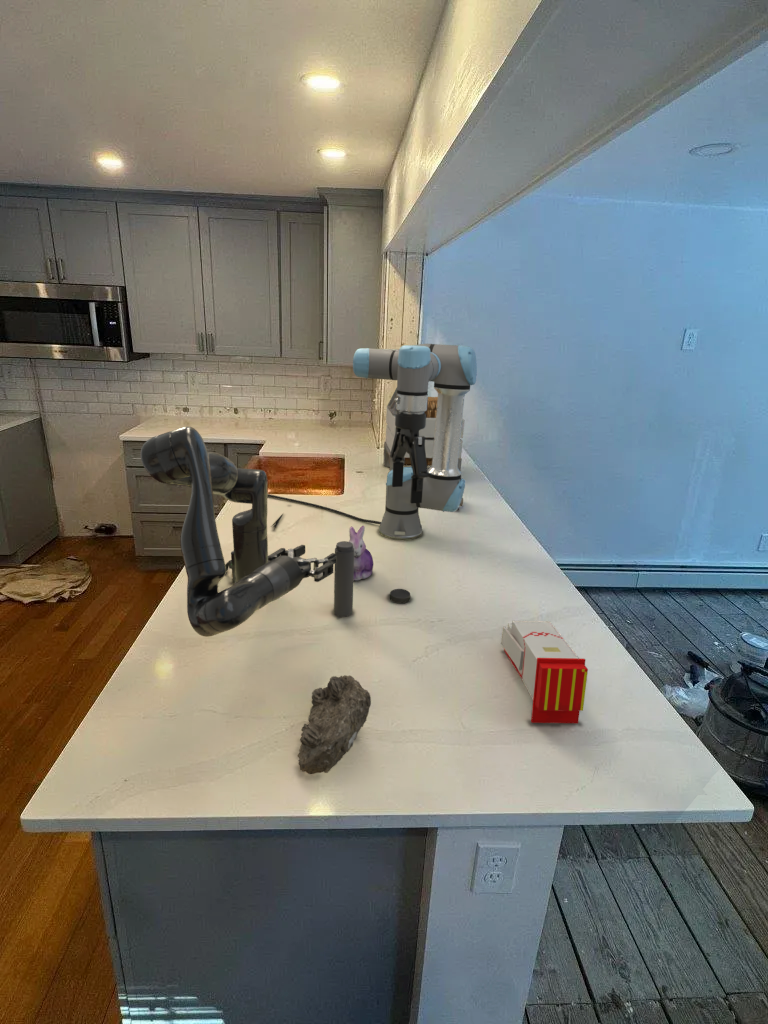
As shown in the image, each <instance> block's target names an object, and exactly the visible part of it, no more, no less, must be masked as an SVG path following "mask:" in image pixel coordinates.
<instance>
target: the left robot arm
mask: <svg viewBox="0 0 768 1024" xmlns="http://www.w3.org/2000/svg"><path fill="white" fill-rule="evenodd" d="M201 435H202V434H200V433H199V431H198V430H197V429H196V428H194V427H192V426H183V427H179V428H177V429H176V428H175V429H173V430H170V431H167V432H164V433H161V434H158V435H155V436H152V437H150V438H148V440H146V441H145V442H144V443H143V444H142V446H141V448H140V461H141V463H142V466H143V468H144V469H145V471H146V472H147V474H149V475H150V477H151V478H153V479H154V480H156V481H157V482H159V483H161V484H165V485H166V484H167V485H178V486H185V487H188V488H191V492H190V493H191V494H190V499H189V504H188V507H187V511H186V514H185V517H184V520H183V525H182V527H181V531H180V539H179V543H180V544H179V545H180V552H181V556H182V560H183V565H184V568H185V569H184V570H185V573H186V576H187V584H186V585H187V587H186V610H187V618H188V621H189V624H190V626H191V628H192V629H193V630H194V632H195V633H196V634H198V635H199V636H201V637H208V638H209V637H213V636H216V635H219V634H222V633H225V632H227V631H230V630H233V629H235V628H237V627H239V626H241V625H242V624H243V623H245V622H246V621H247V620H248V619H249V618H251V617H252V616H253V615H254V614H255V612H258V611H259V610H261V609H262V608H264V607H266V606H267V605H269V604H271V603H272V602H275V601H276V600H279V599H280V598H281V597H283V596H285V595H287V594H288V593H289V592H291V591H292V590H294V589H296V588H297V587H298V586H299V585H301V582H302V581H303V579H306V578H309V577H311V578H313V581H314V582H315V583H318V582H321V581H322V580H325V579H326V578H327V577H329V576H331V575H332V574H334V565H335V563H336V554H335V552H332V553H330V554H328V555H327V556H325V557H324V558H319V559H318V558H317V557H311V558H303V557H301V556H304V555H305V554H306V545H305V544H300V545H297V546H296V547H294V548H289V549H286V548H285V547H280V548H279V549H277V550H275V551H274V552H272V553H271V554H269V545H268V540H269V539H268V494H269V481H268V476H267V473H266V471H265V470H263V469H256V468H255V469H253V468H241V467H237V466H236V464H235V463H234V462H233V461H232V460H231V459H230V458H228V457H226V456H224V455H223V454H220V453H218V452H216V451H211V450H209V451H208V449H207V445H206V444H205V441H204V438H203V437H202V436H201ZM214 495H215V496H221V497H222V498H224V499H226V500H227V501H229V502H231V503H237V504H249V505H251V508H250V509H248V510H244V511H240V512H238V513H236V514H234V515H233V517H232V519H231V525H232V526H231V528H232V543H233V550H231V552H230V560H227V562H225V557H224V554H223V550H222V545H221V541H220V537H219V533H218V528H217V527H218V526H217V522H216V521H217V520H216V514H215V513H216V512H215V501H214V500H215V499H214ZM312 564H313V569H312ZM320 564H322V565H320ZM319 565H320V566H319ZM229 569H230V570H231V578H232V579H231V580H232V584H233V585H231V586H229V587H227V588H225V589H223V590H220V591H219V583H220V582H221V580H222V579H223V578H224V577H225V576H226V574H227V572H228V571H229Z"/></svg>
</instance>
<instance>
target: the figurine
mask: <svg viewBox="0 0 768 1024" xmlns="http://www.w3.org/2000/svg"><path fill="white" fill-rule="evenodd" d="M348 529H349V530H348V532H349V540H348V542H351V543H352V544H353V548H354V577H353V581H360V580H365V579H368V578H369V577H370V576H371V575H372V574H373V570H374V559H373V555H372V553H371V551H369V550H368V549H367V545H366V543H365V541H364V535H365V531H366V527H365V525H361V526H360V527H359V529H358V531H357V532H356V530H355V528H354V526H350V527H349V528H348Z"/></svg>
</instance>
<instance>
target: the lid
mask: <svg viewBox="0 0 768 1024" xmlns="http://www.w3.org/2000/svg"><path fill="white" fill-rule="evenodd" d="M389 600H390V601H391V602H393V603H396V604H406V603H408V602H410V601H411V592H410V591H409V590H408V589H406V588H405V589H404V588H394V589H392V590H390V592H389Z"/></svg>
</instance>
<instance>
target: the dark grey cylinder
mask: <svg viewBox="0 0 768 1024" xmlns="http://www.w3.org/2000/svg"><path fill="white" fill-rule="evenodd" d="M334 553H335V554H336V563H335V564H334V572H333V574H334V577H333V579H334V581H333V585H334V587H333V614H334V615H335V616H336V617H339V618H348V617H351V616H352V615H353V613H354V612H353V610H354V607H353V605H354V580H353V577H354V548H353V544H352V543H351V542H349V541H347V540H342V541H339V542H336V545H335V548H334Z"/></svg>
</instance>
